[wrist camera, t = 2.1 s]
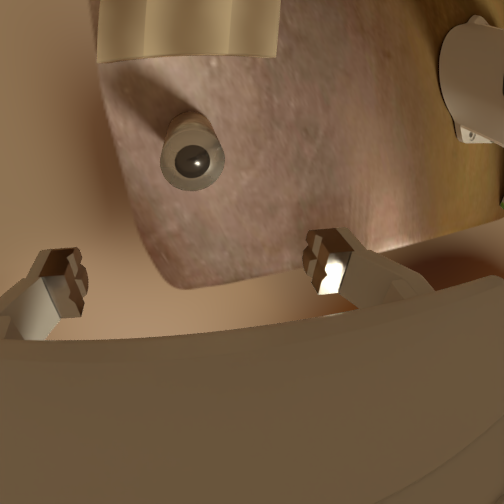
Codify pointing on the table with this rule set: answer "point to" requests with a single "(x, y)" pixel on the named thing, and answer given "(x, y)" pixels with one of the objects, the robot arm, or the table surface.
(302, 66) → the table surface
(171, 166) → the bushing
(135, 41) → the frame
